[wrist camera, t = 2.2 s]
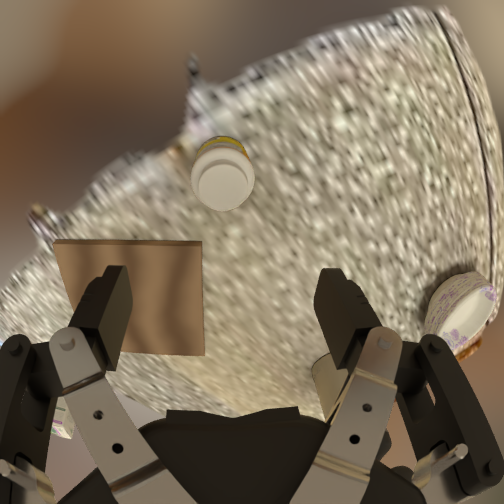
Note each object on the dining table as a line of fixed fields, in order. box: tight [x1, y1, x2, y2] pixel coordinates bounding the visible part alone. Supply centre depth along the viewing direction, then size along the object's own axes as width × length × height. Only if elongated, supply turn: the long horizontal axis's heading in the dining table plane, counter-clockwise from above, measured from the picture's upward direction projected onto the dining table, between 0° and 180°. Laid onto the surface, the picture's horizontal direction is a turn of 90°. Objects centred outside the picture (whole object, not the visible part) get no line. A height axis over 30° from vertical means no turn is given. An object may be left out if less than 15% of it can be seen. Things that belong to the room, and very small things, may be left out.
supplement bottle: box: [190, 136, 255, 211], centre depth 25 cm, size 5×5×10 cm
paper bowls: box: [425, 272, 497, 350], centre depth 42 cm, size 15×15×8 cm
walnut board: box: [52, 240, 205, 356], centre depth 38 cm, size 20×20×1 cm
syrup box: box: [51, 397, 75, 439], centre depth 40 cm, size 6×6×14 cm
